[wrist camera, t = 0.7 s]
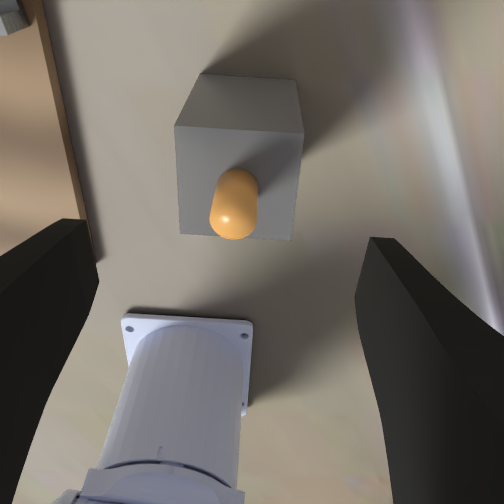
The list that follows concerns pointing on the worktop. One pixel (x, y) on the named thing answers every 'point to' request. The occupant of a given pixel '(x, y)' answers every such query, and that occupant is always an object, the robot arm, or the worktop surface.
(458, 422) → the robot arm
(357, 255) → the worktop surface
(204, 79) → the connector plug
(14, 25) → the clips
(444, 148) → the worktop surface
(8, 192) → the board
